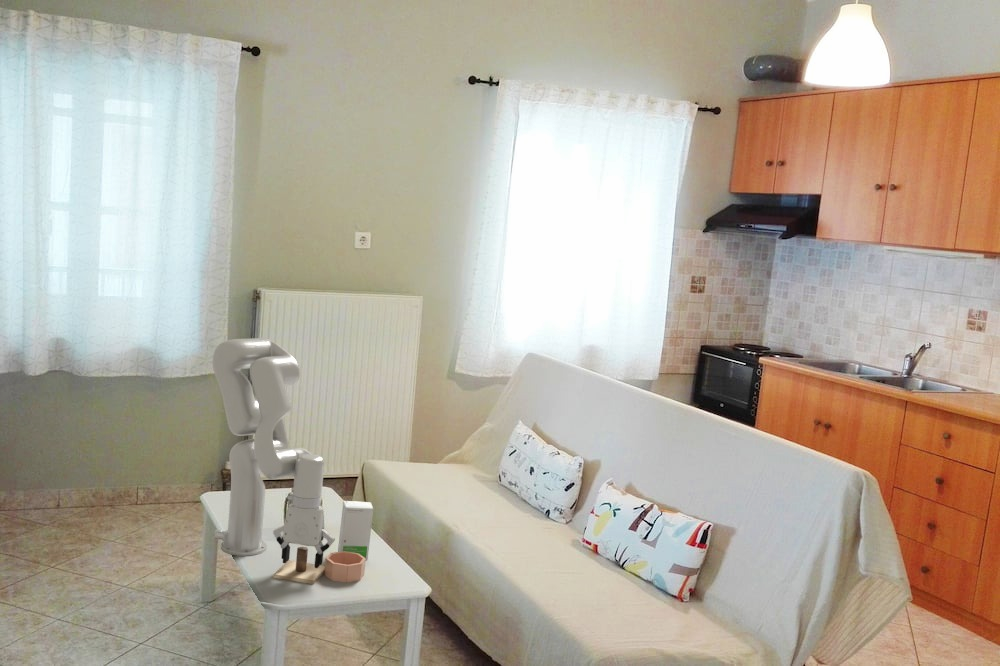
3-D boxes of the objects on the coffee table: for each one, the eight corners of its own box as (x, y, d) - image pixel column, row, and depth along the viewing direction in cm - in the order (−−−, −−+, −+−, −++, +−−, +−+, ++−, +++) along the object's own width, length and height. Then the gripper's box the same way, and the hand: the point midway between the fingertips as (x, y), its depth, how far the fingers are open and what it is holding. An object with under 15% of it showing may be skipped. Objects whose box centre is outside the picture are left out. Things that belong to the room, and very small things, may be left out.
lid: (273, 577, 252) (275, 552, 251) (288, 563, 263) (290, 539, 262) (313, 584, 251) (315, 558, 250) (326, 569, 262) (328, 545, 261)
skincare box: (339, 560, 270) (344, 507, 269) (337, 552, 277) (341, 500, 275) (369, 560, 273) (374, 508, 271) (366, 552, 279) (370, 500, 277)
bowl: (320, 579, 255) (322, 561, 255) (332, 566, 265) (333, 549, 265) (356, 585, 254) (358, 567, 254) (367, 572, 264) (368, 554, 263)
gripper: (270, 500, 252) (265, 564, 254) (334, 509, 250) (328, 573, 252) (280, 492, 259) (275, 554, 261) (342, 501, 257) (337, 564, 259)
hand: (301, 563), depth 257 cm, fingers open, 8 cm apart
